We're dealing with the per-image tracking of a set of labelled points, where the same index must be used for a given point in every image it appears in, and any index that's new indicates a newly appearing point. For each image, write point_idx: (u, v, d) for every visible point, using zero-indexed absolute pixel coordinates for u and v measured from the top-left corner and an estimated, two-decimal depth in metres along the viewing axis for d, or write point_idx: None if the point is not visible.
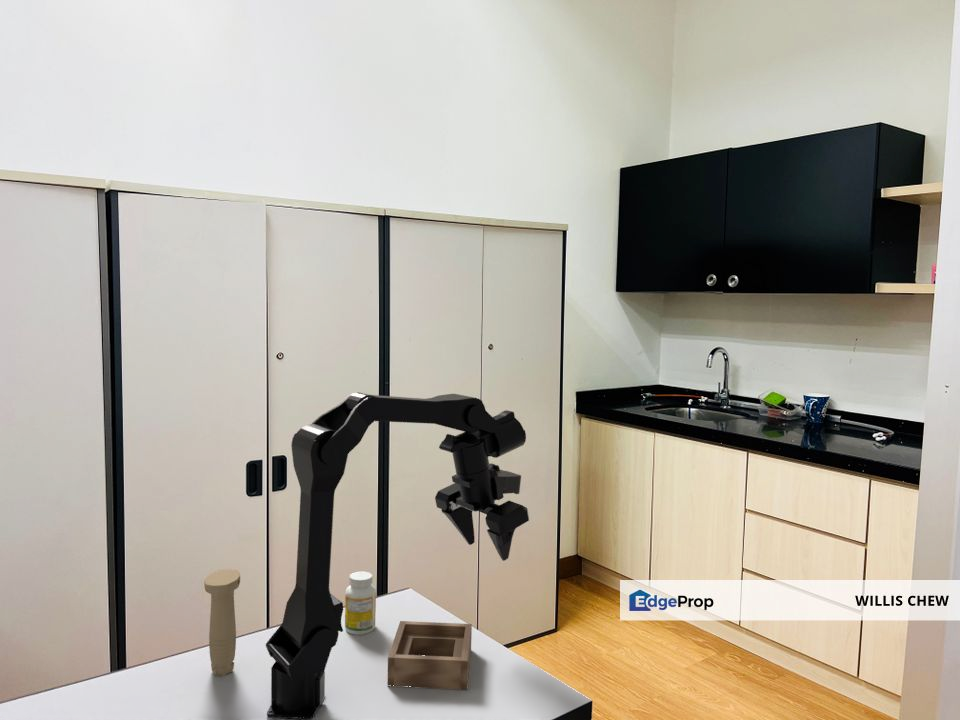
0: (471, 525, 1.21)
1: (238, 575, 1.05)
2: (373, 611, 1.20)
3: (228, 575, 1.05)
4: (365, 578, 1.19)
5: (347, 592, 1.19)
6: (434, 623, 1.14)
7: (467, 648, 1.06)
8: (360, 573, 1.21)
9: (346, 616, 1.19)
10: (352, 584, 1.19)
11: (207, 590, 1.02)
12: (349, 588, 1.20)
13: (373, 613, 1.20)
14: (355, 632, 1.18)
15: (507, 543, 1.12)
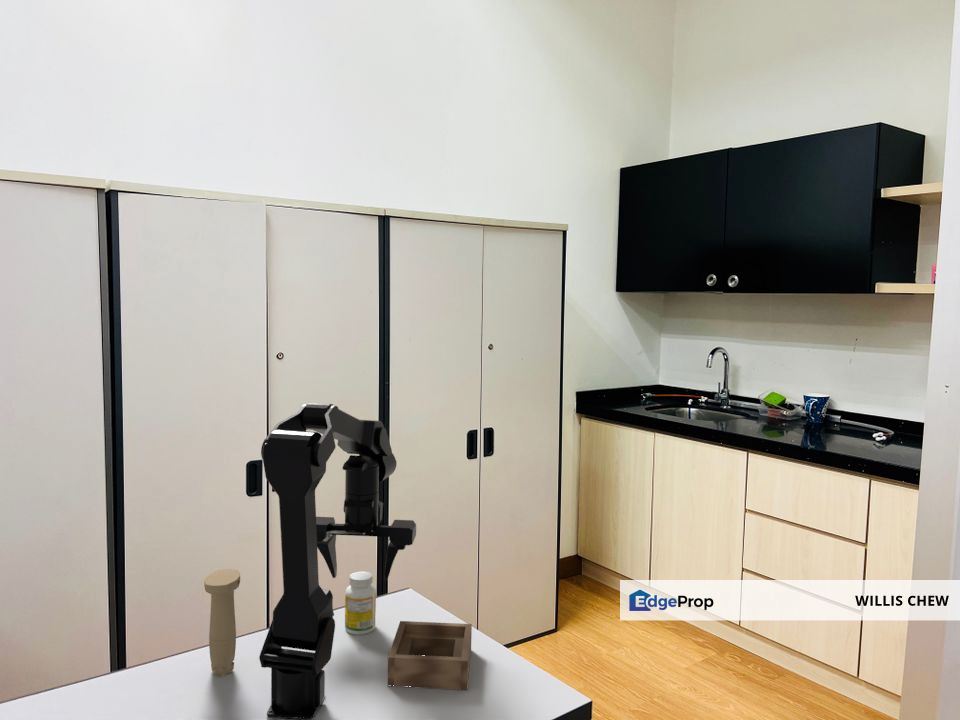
0: (335, 557, 1.21)
1: (238, 575, 1.05)
2: (373, 611, 1.20)
3: (228, 575, 1.05)
4: (365, 578, 1.19)
5: (347, 592, 1.19)
6: (434, 623, 1.14)
7: (467, 648, 1.06)
8: (360, 573, 1.21)
9: (346, 616, 1.19)
10: (352, 584, 1.19)
11: (207, 590, 1.02)
12: (349, 588, 1.20)
13: (373, 613, 1.20)
14: (355, 632, 1.18)
15: (393, 561, 1.20)
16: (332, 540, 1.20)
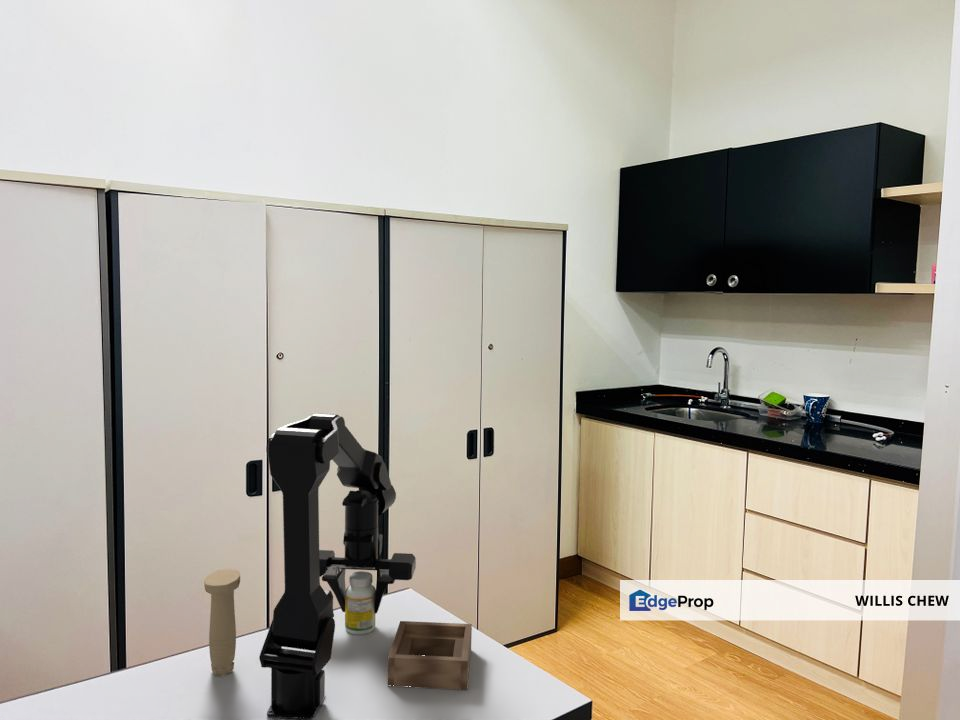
0: (345, 591, 1.21)
1: (238, 575, 1.05)
2: (373, 611, 1.20)
3: (228, 575, 1.05)
4: (365, 578, 1.19)
5: (347, 592, 1.19)
6: (434, 623, 1.14)
7: (467, 648, 1.06)
8: (360, 573, 1.21)
9: (346, 616, 1.19)
10: (352, 584, 1.19)
11: (207, 590, 1.02)
12: (349, 588, 1.20)
13: (373, 613, 1.20)
14: (355, 632, 1.18)
15: (382, 594, 1.20)
16: (342, 574, 1.20)
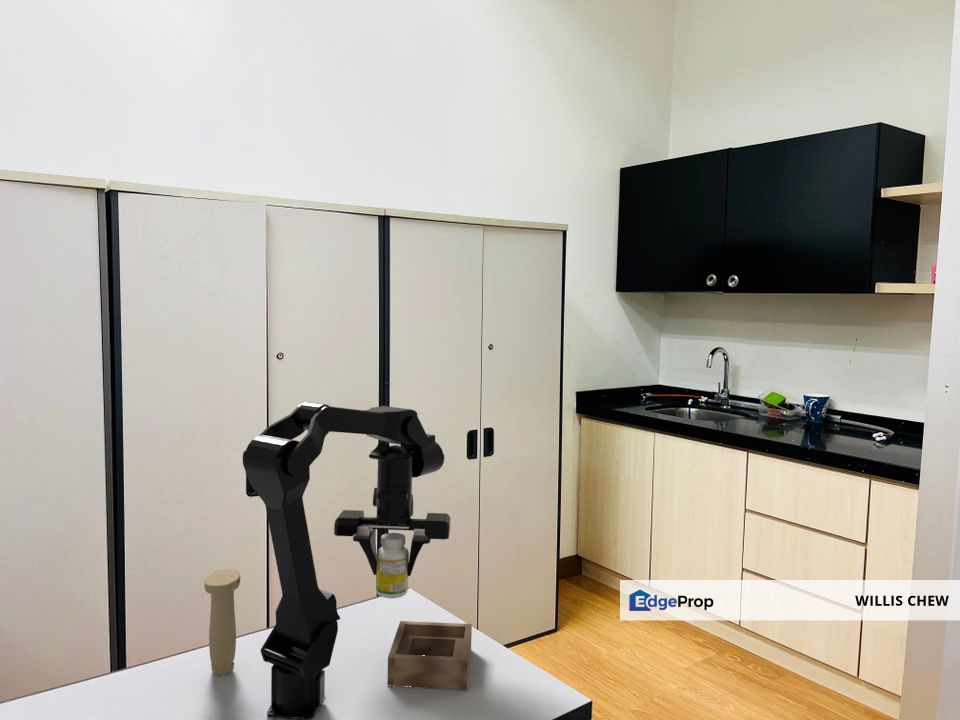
0: (376, 553, 1.14)
1: (238, 575, 1.05)
2: (406, 574, 1.13)
3: (228, 575, 1.05)
4: (398, 538, 1.13)
5: (379, 553, 1.12)
6: (434, 623, 1.14)
7: (467, 648, 1.06)
8: (392, 534, 1.15)
9: (378, 579, 1.13)
10: (385, 545, 1.12)
11: (207, 590, 1.02)
12: (381, 549, 1.13)
13: (406, 576, 1.13)
14: (388, 595, 1.12)
15: None
16: (373, 535, 1.14)
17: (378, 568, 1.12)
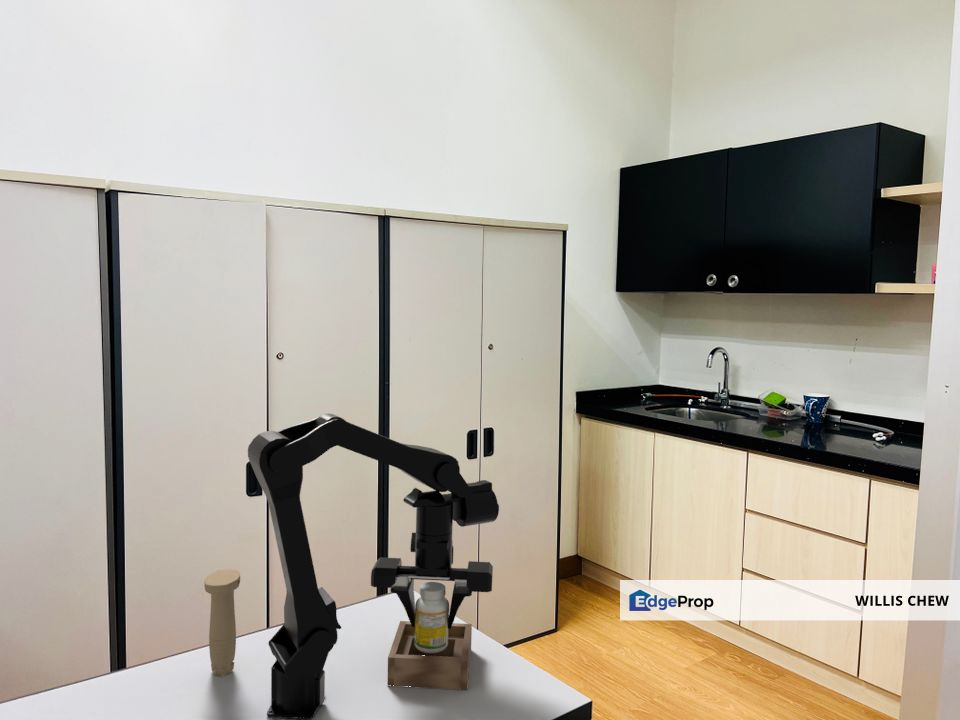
0: (414, 604, 1.08)
1: (238, 575, 1.05)
2: (447, 626, 1.07)
3: (228, 575, 1.05)
4: (438, 589, 1.06)
5: (418, 605, 1.06)
6: None
7: (467, 648, 1.06)
8: (431, 584, 1.09)
9: (417, 632, 1.06)
10: (424, 596, 1.06)
11: (207, 590, 1.02)
12: (420, 601, 1.07)
13: (447, 629, 1.07)
14: (427, 650, 1.05)
15: None
16: (411, 585, 1.08)
17: (417, 621, 1.06)
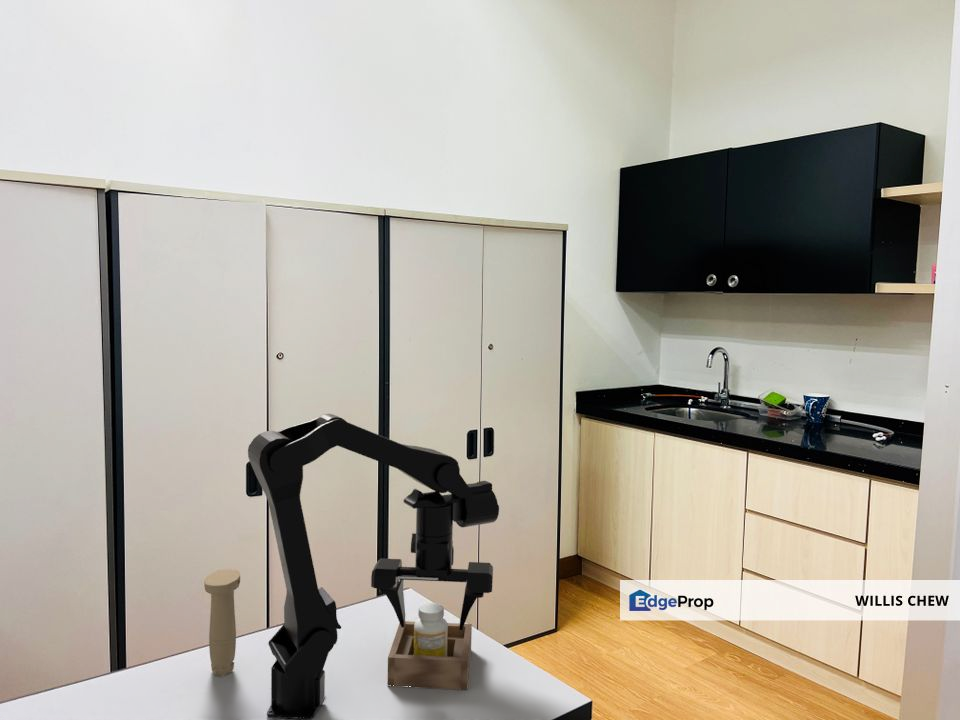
0: None
1: (238, 575, 1.05)
2: (446, 647, 1.07)
3: (228, 575, 1.05)
4: (436, 610, 1.07)
5: (417, 627, 1.07)
6: None
7: (467, 648, 1.06)
8: (429, 605, 1.09)
9: (416, 654, 1.07)
10: (422, 618, 1.06)
11: (207, 590, 1.02)
12: (419, 622, 1.07)
13: (446, 650, 1.07)
14: None
15: None
16: (400, 585, 1.08)
17: (416, 642, 1.07)
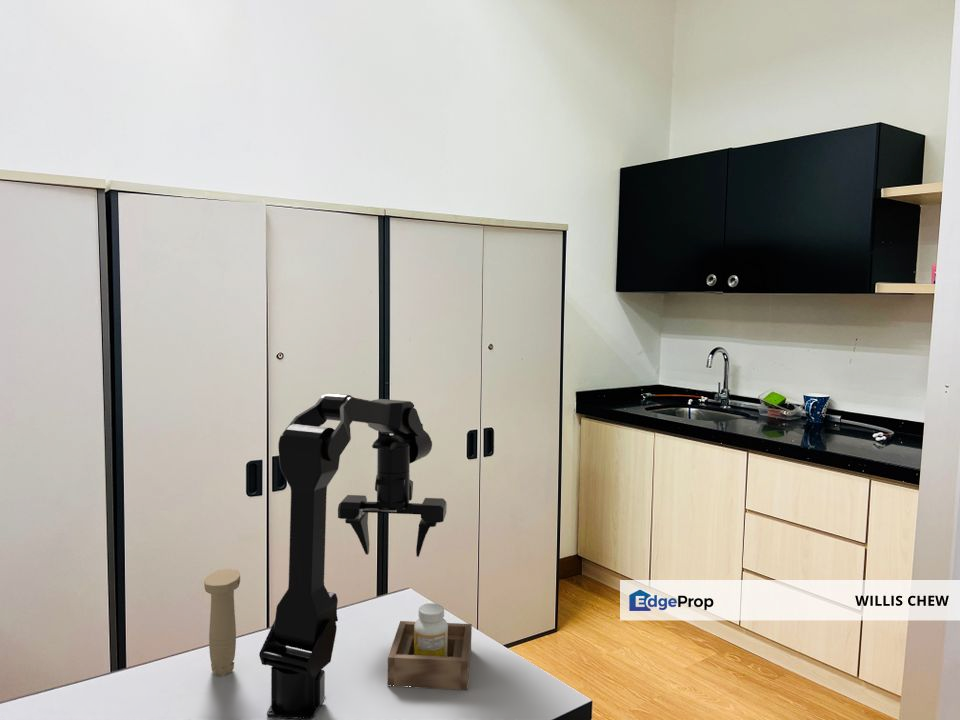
0: (368, 535, 1.23)
1: (238, 575, 1.05)
2: (446, 648, 1.07)
3: (228, 575, 1.05)
4: (436, 611, 1.07)
5: (417, 627, 1.06)
6: None
7: (467, 648, 1.06)
8: (430, 605, 1.09)
9: (416, 654, 1.07)
10: (422, 619, 1.06)
11: (207, 590, 1.02)
12: (419, 623, 1.07)
13: (446, 650, 1.07)
14: None
15: (424, 538, 1.22)
16: (364, 518, 1.23)
17: (416, 643, 1.07)
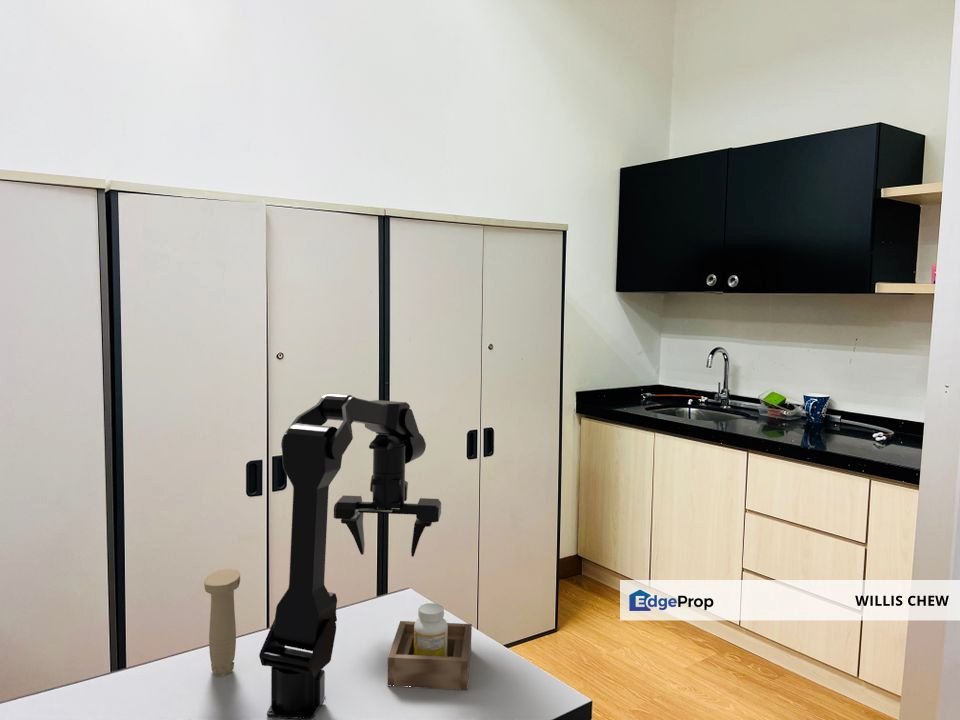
0: (363, 535, 1.24)
1: (238, 575, 1.05)
2: (445, 648, 1.07)
3: (228, 576, 1.05)
4: (436, 611, 1.07)
5: (417, 627, 1.07)
6: None
7: (467, 648, 1.06)
8: (430, 605, 1.09)
9: (416, 654, 1.07)
10: (422, 618, 1.06)
11: (207, 590, 1.02)
12: (418, 622, 1.07)
13: (445, 650, 1.07)
14: None
15: (419, 538, 1.24)
16: (360, 518, 1.24)
17: (416, 642, 1.07)
